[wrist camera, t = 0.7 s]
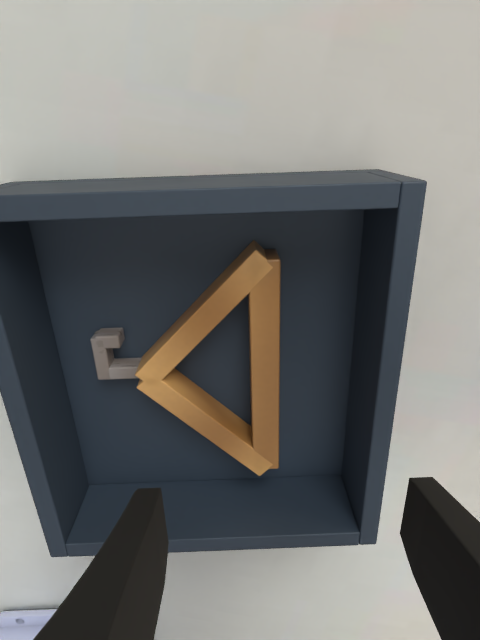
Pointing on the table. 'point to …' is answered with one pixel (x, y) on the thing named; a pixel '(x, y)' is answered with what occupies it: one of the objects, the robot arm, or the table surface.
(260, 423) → the hanger
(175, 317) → the basket
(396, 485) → the table surface
